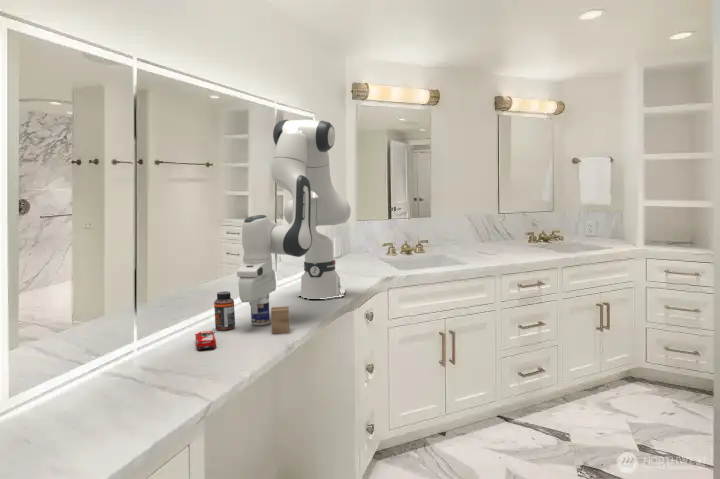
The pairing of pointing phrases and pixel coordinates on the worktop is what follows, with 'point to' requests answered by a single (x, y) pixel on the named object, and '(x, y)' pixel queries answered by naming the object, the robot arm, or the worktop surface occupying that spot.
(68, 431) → the worktop surface
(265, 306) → the pill bottle
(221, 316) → the supplement bottle
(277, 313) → the walnut block
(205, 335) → the race car
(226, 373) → the worktop surface
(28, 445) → the worktop surface
